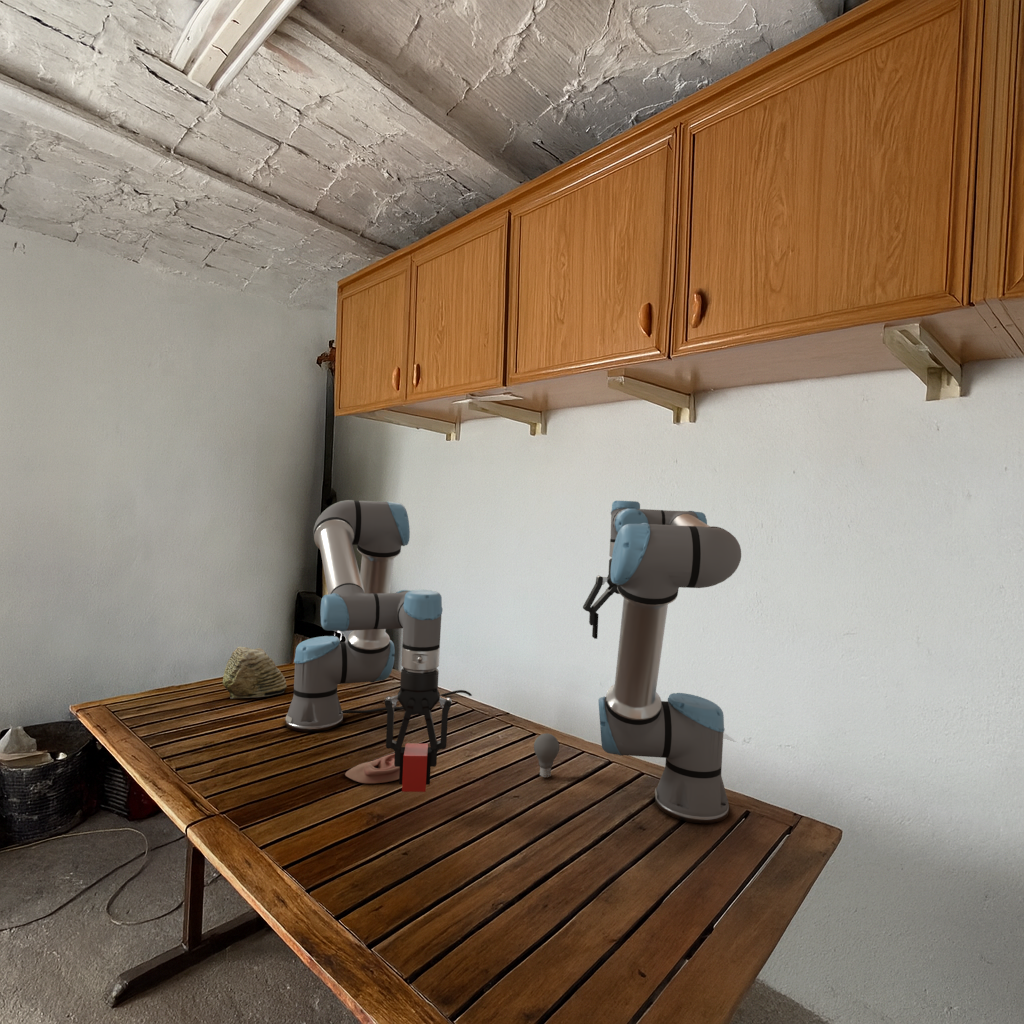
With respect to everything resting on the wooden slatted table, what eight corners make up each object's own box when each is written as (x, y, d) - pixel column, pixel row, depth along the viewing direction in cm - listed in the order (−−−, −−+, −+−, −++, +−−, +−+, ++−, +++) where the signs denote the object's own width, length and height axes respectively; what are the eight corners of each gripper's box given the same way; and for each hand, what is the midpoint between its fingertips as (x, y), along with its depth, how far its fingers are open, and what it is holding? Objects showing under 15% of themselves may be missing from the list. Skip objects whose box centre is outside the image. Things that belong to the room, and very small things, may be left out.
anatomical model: (339, 762, 141) (361, 743, 153) (338, 780, 141) (361, 759, 153) (395, 770, 139) (413, 750, 150) (394, 788, 139) (413, 766, 150)
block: (401, 791, 125) (403, 755, 125) (404, 777, 131) (405, 743, 131) (425, 791, 126) (427, 755, 125) (426, 777, 132) (428, 743, 131)
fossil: (218, 695, 195) (220, 647, 195) (278, 685, 208) (279, 640, 207) (228, 703, 189) (230, 653, 188) (289, 692, 201) (290, 645, 201)
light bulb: (531, 771, 151) (532, 729, 150) (555, 771, 151) (557, 729, 151) (534, 782, 145) (535, 738, 145) (559, 782, 145) (561, 739, 145)
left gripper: (373, 672, 123) (368, 790, 124) (464, 674, 125) (458, 790, 126) (377, 661, 130) (372, 772, 131) (463, 663, 132) (458, 773, 133)
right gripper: (580, 558, 163) (576, 640, 164) (673, 561, 166) (669, 642, 166) (574, 555, 171) (570, 634, 171) (664, 558, 173) (660, 636, 174)
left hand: (414, 781), depth 128 cm, fingers closed on block, 5 cm apart
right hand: (619, 638), depth 169 cm, fingers open, 13 cm apart
